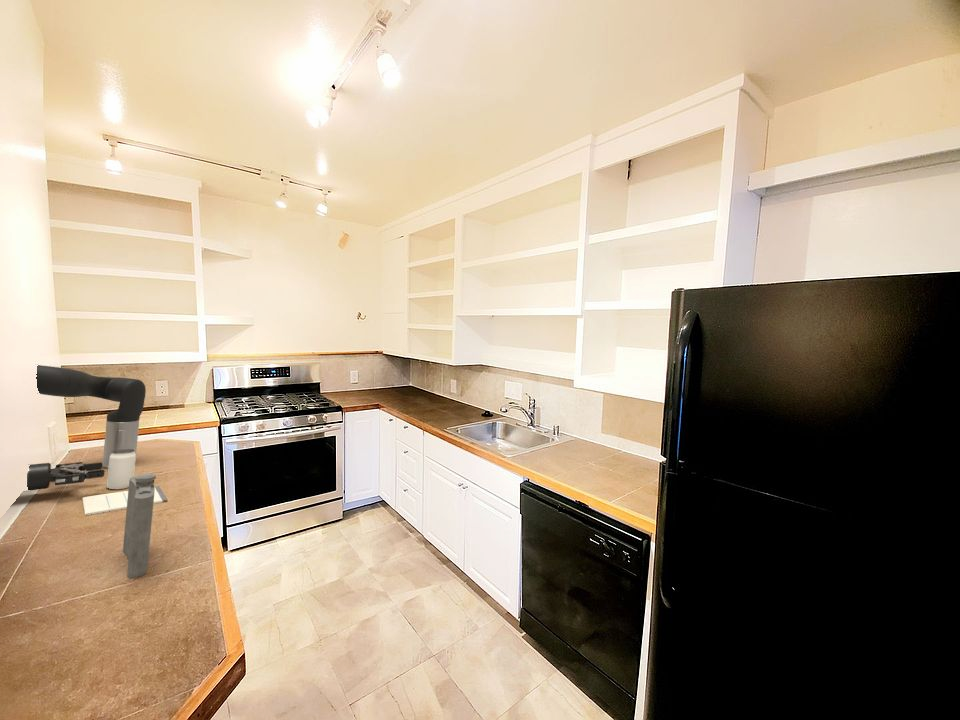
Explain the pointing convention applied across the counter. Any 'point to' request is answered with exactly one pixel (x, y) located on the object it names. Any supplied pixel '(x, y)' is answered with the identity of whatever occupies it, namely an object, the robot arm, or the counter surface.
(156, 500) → the notepad
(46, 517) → the counter surface
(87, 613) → the counter surface
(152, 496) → the grey upright slab
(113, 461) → the can
